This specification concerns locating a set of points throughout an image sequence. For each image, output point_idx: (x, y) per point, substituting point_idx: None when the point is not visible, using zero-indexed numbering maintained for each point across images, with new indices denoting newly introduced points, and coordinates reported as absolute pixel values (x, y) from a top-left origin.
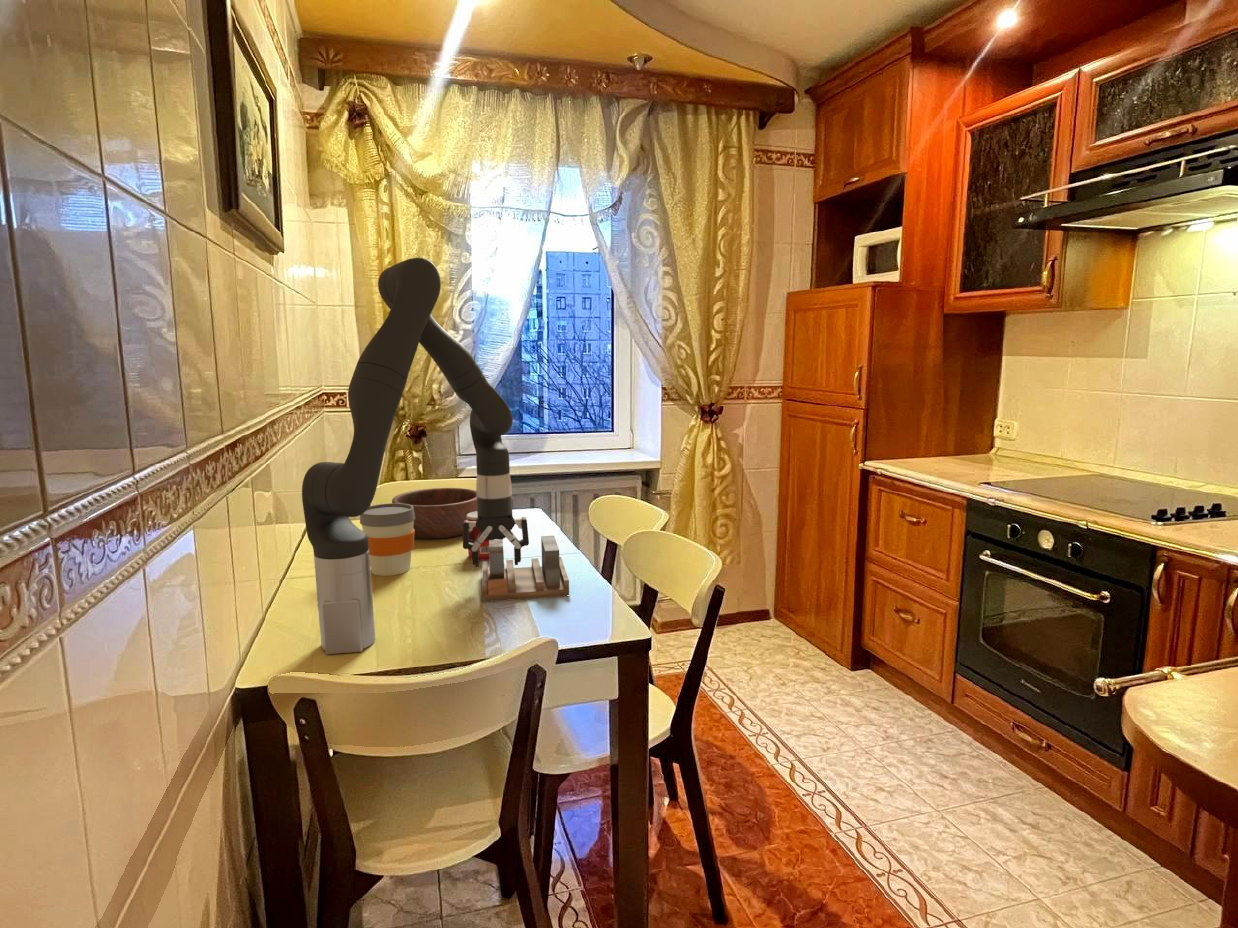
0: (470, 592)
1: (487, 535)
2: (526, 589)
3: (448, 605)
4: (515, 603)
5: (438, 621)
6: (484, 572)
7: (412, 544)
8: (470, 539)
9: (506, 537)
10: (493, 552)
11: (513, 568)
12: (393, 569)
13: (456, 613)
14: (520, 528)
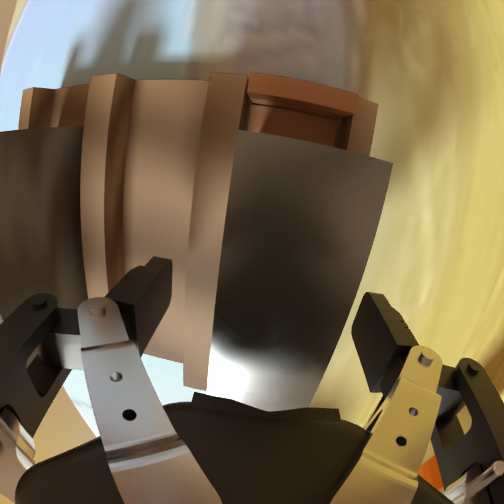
0: None
1: (373, 436)
2: (167, 109)
3: (457, 140)
4: (235, 50)
5: (478, 39)
6: None
7: (432, 467)
8: None
9: (150, 383)
10: (344, 178)
11: (186, 301)
12: (462, 410)
13: (442, 59)
14: (13, 414)
